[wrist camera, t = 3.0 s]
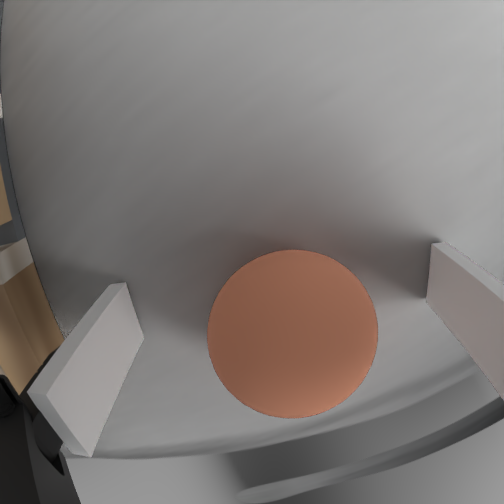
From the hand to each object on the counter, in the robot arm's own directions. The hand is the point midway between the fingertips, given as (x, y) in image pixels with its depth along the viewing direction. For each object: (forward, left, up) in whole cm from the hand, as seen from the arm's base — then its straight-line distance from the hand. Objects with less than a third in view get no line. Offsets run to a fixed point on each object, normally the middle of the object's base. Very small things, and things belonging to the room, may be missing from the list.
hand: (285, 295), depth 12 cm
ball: (0, 0, +3) cm, 3 cm away
